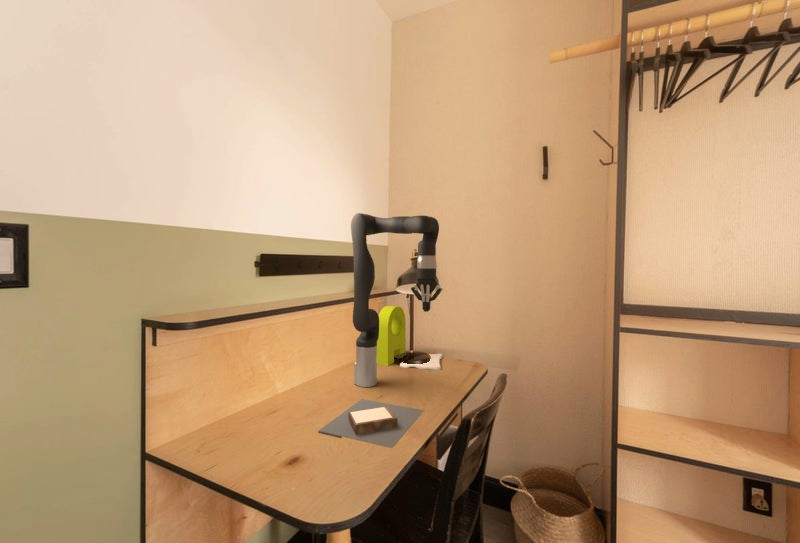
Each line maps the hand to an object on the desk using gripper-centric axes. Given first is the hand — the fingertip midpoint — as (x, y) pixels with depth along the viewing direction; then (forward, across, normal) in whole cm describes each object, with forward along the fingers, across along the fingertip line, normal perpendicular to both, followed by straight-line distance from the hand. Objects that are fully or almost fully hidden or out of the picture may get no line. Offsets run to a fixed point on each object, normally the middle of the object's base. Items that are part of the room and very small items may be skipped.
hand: (426, 311), depth 137 cm
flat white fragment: (+36, -18, +48) cm, 63 cm away
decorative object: (+35, -35, +44) cm, 66 cm away
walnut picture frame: (+33, -4, -23) cm, 41 cm away
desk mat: (+35, -10, -25) cm, 44 cm away
